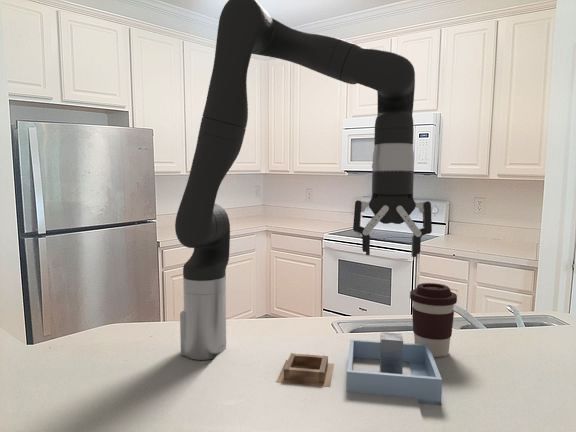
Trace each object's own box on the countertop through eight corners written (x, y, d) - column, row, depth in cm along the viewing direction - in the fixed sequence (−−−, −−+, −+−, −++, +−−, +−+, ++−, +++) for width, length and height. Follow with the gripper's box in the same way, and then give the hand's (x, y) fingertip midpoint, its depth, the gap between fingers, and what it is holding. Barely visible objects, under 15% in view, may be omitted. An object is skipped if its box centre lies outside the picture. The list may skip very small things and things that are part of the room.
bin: (346, 396, 74) (346, 371, 74) (349, 359, 90) (350, 339, 89) (441, 405, 71) (442, 379, 71) (427, 365, 87) (428, 344, 86)
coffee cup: (400, 351, 94) (402, 286, 93) (420, 340, 101) (422, 279, 100) (444, 364, 87) (446, 294, 86) (462, 351, 94) (464, 285, 93)
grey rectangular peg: (380, 380, 79) (381, 339, 78) (379, 371, 83) (380, 332, 82) (402, 382, 78) (403, 340, 77) (400, 373, 82) (401, 333, 81)
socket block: (276, 387, 77) (276, 371, 77) (286, 364, 87) (286, 350, 87) (330, 392, 75) (330, 376, 75) (334, 368, 85) (334, 354, 85)
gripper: (353, 168, 75) (352, 257, 77) (436, 168, 73) (433, 260, 74) (354, 170, 83) (353, 251, 84) (429, 170, 80) (427, 253, 81)
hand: (390, 255), depth 79 cm, fingers open, 8 cm apart
